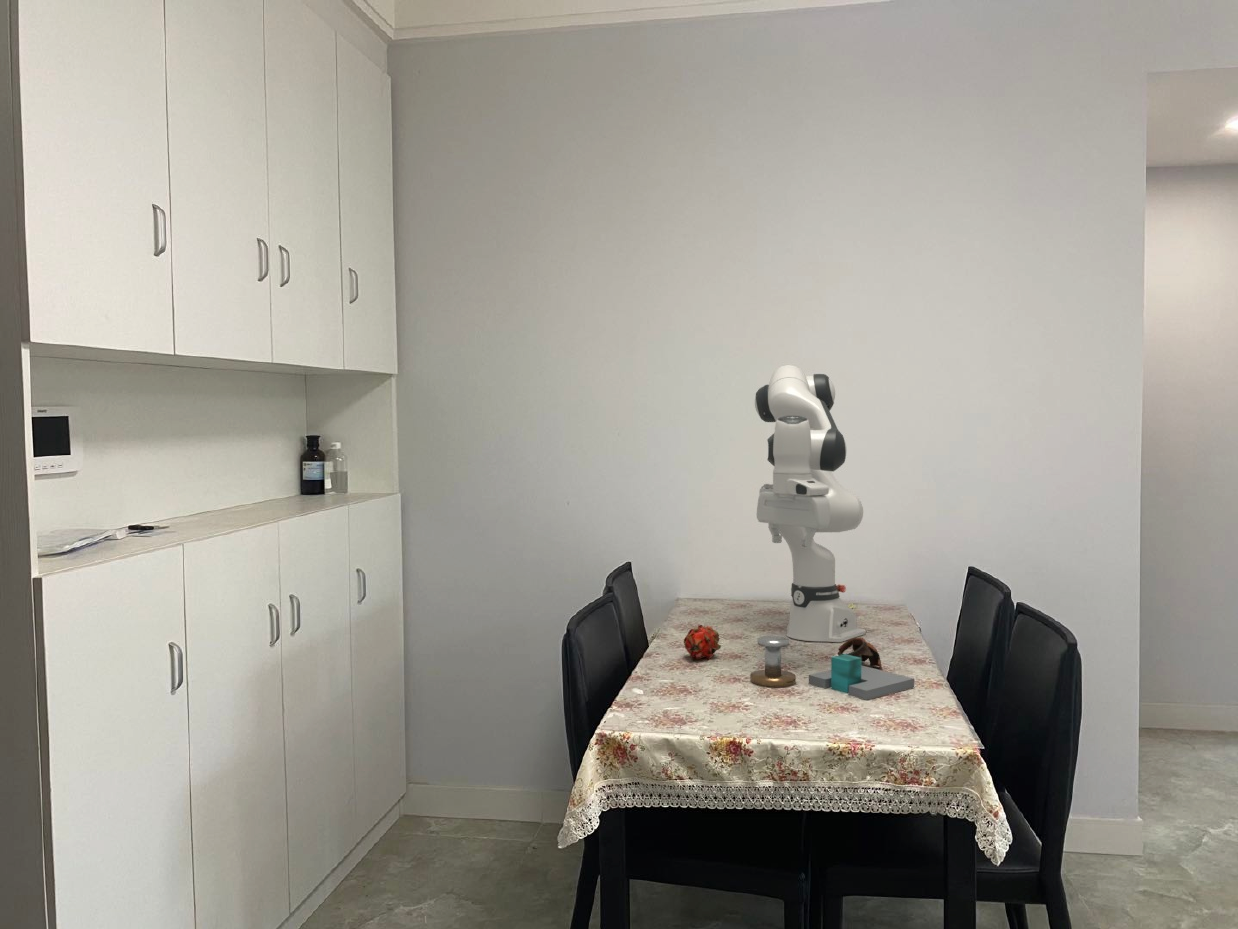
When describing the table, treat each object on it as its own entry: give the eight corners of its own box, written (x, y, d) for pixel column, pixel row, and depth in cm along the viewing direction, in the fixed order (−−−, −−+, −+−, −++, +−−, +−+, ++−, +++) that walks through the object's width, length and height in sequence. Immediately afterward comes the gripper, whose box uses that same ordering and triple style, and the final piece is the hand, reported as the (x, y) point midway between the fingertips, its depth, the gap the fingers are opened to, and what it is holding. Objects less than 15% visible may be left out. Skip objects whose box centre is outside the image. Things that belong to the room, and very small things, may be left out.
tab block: (844, 685, 220) (845, 654, 219) (861, 690, 216) (861, 658, 216) (831, 689, 217) (831, 657, 217) (847, 693, 213) (847, 661, 213)
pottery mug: (886, 676, 229) (870, 647, 228) (848, 691, 232) (832, 662, 230) (883, 652, 240) (868, 623, 239) (847, 666, 243) (831, 638, 242)
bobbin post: (772, 673, 230) (772, 632, 229) (805, 682, 222) (805, 640, 221) (741, 680, 224) (741, 638, 223) (773, 690, 216) (773, 646, 215)
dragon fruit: (713, 658, 251) (697, 676, 240) (686, 637, 253) (669, 654, 242) (731, 634, 247) (716, 651, 237) (704, 612, 249) (687, 629, 239)
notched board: (856, 672, 231) (856, 664, 230) (914, 687, 218) (914, 678, 218) (808, 683, 221) (808, 674, 221) (866, 700, 208) (866, 690, 208)
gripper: (750, 483, 239) (750, 541, 240) (815, 488, 223) (815, 550, 223) (769, 482, 243) (769, 539, 243) (834, 487, 226) (834, 548, 227)
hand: (791, 544), depth 233 cm, fingers open, 8 cm apart
